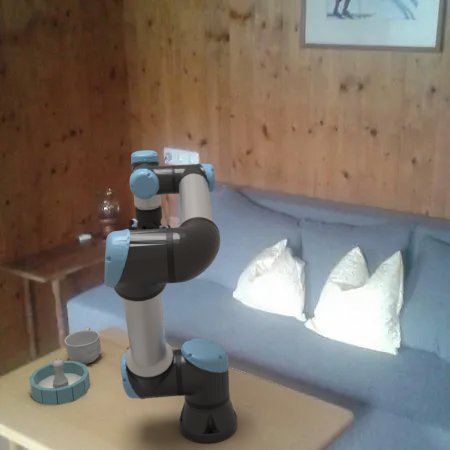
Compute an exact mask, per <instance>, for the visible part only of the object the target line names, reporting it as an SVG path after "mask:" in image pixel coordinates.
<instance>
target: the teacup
mask: <svg viewBox="0 0 450 450" xmlns="http://www.w3.org/2000/svg"><path fill="white" fill-rule="evenodd" d="M64 344H65V349H66V353H67V357H68V358H69V361H75V362H76V361H77V362H79V363H82V364H84V365H87V364H90V363H92V362H93V363H94V362H95V360H97V358H99V356H100V355H101V352H102V351H101V350H102V347H101V344H102V343H101V339H100V333H99V332H98V331H97V330H94V329H91V327H84V329H82V330H77V331H74V332H72V333H70V334H68V335H66V337H65V338H64Z"/></svg>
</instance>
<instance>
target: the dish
mask: <svg viewBox="0 0 450 450" xmlns="http://www.w3.org/2000/svg"><path fill="white" fill-rule="evenodd" d="M62 361H63V362H64V365H63V367H64V369H63V371H64V375H65V376H66V378H67V379H68V385H67V386H64V387H60V388H54V387H53V380H54V378H55V371H54V366H53V365H52V364H53V362H49V363H47V364H44V365H42V366H40V367H38V368H37V369H35V370H34V371H33V372H32V374H31V375H30V376H28V377H29V378H28V379H29V387H30V393H31V397H32V399H33V401H36V402H38V403H40V404H42V405H54V406H58V405H62V404H67V403H71V402H74V401H76V400H78V399H79V398H82V397H83V396H84V395H86V394H87V393H88V391H89V389H90V387H91V379H90V371H89V369H88V366H87V364H82V363H79V362H77V361H76V362H75V361H71V360H62Z"/></svg>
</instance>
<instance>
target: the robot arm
mask: <svg viewBox="0 0 450 450" xmlns="http://www.w3.org/2000/svg"><path fill="white" fill-rule="evenodd" d="M130 158H131V159H130V160H131V162H130V165H131V172H130V173H131V174H130V177H129V189H130V192H131V193H132V194H133V201H134V202H133V204H134V207H135V208H134V215H135V218H132V219H130V220H129V221H128V228H126V229H122V230H116V231H111V232H110V233H109V234H108V235H107V237H106V240H105V241H106V242H105V255H104V285H105V286H106V287H108V288H111V289H112V288H113V290H114V291H115V293H116V295H117V296H118V297H119V298H121V299H122V303H123V309H124V317H125V322H126V329H127V334H128V335H127V336H128V341H129V346H128V348H129V349H127V351H126V352H124V353H123V354H122V355H121V360H120V374H121V380H122V387H123V390H124V392H125V394H126V396H127V397H128V398H129V399H134V400H135V399H137V400H139V399H140V400H146V399H155V398H157V399H158V398H169V397H181V396H183V397H184V402H183V405H182V409H181V411H180V415H179V418H178V419H179V420H178V421H179V424H178V425H179V431H180V434H181V435H183V437H185V438H186V439H188V440H189V441H192V442H195V443H201V444H212V443H218V442H221V441H224V440H226V439H229V438H230V437H231V436H233V435H234V434H235V432H236V431H237V428H238V415H237V413H236V411H235V409H234V406H233V403H232V400H231V398H230V397H231V396H230V376H229V375H230V373H229V370H230V363H229V362H230V361H229V356H228V355H229V354H228V351H227V349H226V348H225V346H224V345H222V344H221V343H219V342H218V341H215V340H212V339H208V338H192V339H190V340H187V341H185V342H184V343H183V344H182V346H181V348H175V349H174V348H173V349H172V346H171V345H170V344H169V343H168V342H167V341H166V331H165V322H164V320H165V319H164V309H163V299H162V293H163V292H164V290H165V289H166V286H167V284H181V283H186V282H188V281H191V280H193V279H195V278H198V277H199V276H200V275H202V274H203V273H204V272H206V270H207V269H209V267H210V266H211V265H212V264H213V262H214V261H215V259H216V258H217V255H218V253H219V251H220V248H221V247H220V246H221V236H220V235H221V234H220V230H219V227H218V225H217V224H216V223H215V222H214V216H213V211H212V203H211V198H210V193H212V192H214V191H215V189H216V179H215V167H214V166H213V164H210V163H196V164H195V163H191V164H173V165H172V164H171V165H160V159H159V154H158V152H156V151H155V150H149V149H147V150H145V149H144V150H137V151H134V152H132V154H131V156H130ZM178 194H179V195H178ZM162 195H178V197H179V200H178V201H179V220H180V221H179V223H180V224H179V226H176V227H171V225H170V224H167V225H162V219H163V207H162V206H161V205H162Z"/></svg>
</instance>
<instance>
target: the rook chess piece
mask: <svg viewBox="0 0 450 450" xmlns="http://www.w3.org/2000/svg"><path fill="white" fill-rule="evenodd" d="M63 361H64V360H63V359H61V358H59V359H58V358H57V359H54V360H53V362H52V363H53V364H52V365H53V366H54V371H55V378H54V380H53V387H54V388H60V387H64V386H67V385H68V379H67V378H66V376H65V375H64V371H63V369H64V367H63V365H64V362H63Z"/></svg>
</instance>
